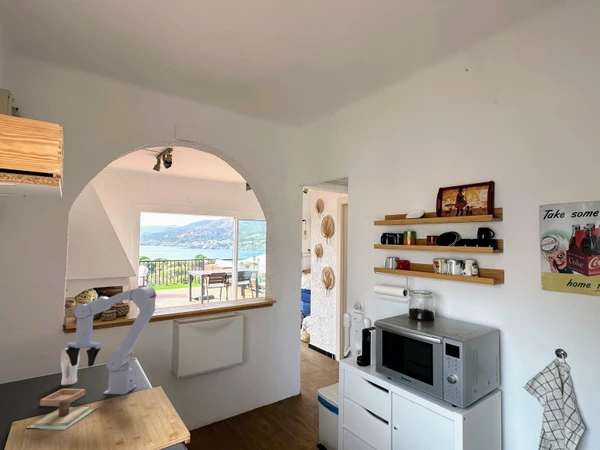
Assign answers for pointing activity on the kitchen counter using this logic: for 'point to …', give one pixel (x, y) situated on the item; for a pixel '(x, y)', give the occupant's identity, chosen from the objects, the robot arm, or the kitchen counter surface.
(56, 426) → the mat
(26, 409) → the kitchen counter surface
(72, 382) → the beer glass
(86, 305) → the robot arm
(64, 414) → the lid
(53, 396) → the dish
